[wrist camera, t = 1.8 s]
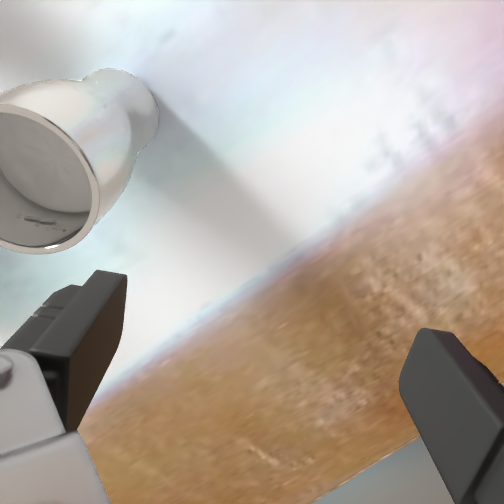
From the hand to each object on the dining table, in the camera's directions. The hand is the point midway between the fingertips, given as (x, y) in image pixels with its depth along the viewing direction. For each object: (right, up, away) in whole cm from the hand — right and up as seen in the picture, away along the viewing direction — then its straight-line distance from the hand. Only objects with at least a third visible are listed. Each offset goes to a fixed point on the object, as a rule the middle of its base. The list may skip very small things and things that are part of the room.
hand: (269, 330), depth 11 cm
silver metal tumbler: (-10, +12, +19) cm, 25 cm away
